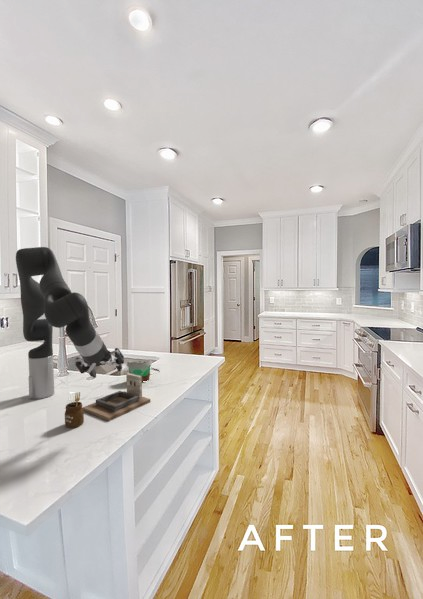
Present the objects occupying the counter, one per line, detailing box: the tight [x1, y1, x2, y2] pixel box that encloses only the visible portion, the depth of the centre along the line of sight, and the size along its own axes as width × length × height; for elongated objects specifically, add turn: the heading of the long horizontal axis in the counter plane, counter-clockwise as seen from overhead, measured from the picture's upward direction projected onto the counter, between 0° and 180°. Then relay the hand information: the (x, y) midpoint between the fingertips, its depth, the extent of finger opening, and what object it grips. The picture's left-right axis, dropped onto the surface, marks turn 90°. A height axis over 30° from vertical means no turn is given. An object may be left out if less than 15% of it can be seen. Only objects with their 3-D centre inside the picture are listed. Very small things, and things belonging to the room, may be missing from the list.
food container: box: [126, 359, 153, 383], centre depth 145 cm, size 12×6×10 cm, turn 105°
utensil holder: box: [64, 391, 85, 429], centre depth 101 cm, size 6×6×12 cm
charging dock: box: [82, 372, 151, 422], centre depth 116 cm, size 20×16×10 cm
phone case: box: [150, 366, 162, 374], centre depth 164 cm, size 7×1×15 cm
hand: (107, 372), depth 102 cm, fingers open, 8 cm apart
